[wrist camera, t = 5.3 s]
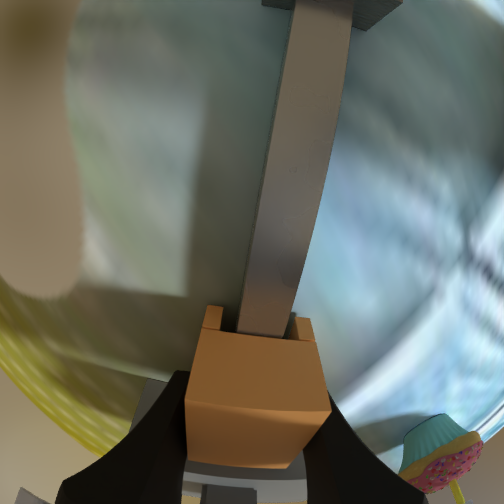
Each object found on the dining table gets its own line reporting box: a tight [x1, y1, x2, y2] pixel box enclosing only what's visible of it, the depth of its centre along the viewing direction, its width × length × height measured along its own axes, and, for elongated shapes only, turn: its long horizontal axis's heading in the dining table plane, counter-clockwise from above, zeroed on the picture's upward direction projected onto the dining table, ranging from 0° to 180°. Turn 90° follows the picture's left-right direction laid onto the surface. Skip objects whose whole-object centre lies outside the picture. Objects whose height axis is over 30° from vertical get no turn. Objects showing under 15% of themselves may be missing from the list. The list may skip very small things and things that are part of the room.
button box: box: [128, 378, 307, 504], centre depth 11 cm, size 6×10×7 cm, turn 80°
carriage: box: [185, 305, 332, 468], centre depth 9 cm, size 5×4×4 cm
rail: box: [235, 0, 403, 339], centre depth 8 cm, size 20×4×3 cm, turn 170°
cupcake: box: [398, 414, 484, 504], centre depth 11 cm, size 9×8×12 cm
